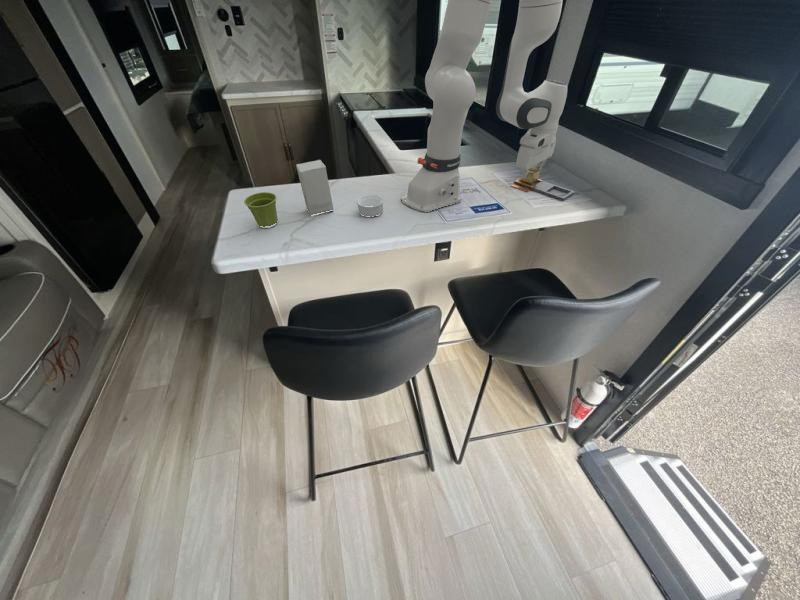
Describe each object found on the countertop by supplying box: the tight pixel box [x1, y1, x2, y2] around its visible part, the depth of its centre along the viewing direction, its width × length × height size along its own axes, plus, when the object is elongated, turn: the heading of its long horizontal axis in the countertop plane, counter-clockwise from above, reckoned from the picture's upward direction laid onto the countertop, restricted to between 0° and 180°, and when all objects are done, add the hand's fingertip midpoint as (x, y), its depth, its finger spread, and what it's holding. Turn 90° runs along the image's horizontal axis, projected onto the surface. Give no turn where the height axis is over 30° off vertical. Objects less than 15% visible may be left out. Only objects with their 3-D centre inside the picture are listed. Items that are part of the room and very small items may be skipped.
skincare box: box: [295, 159, 334, 216], centre depth 105 cm, size 8×7×16 cm
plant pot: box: [243, 191, 279, 227], centre depth 101 cm, size 9×9×9 cm
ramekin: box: [356, 194, 384, 217], centre depth 108 cm, size 9×9×4 cm
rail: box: [510, 177, 575, 202], centre depth 120 cm, size 11×20×1 cm, turn 43°
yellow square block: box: [520, 167, 542, 186], centre depth 122 cm, size 4×4×6 cm
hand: (530, 174), depth 122 cm, fingers open, 8 cm apart
